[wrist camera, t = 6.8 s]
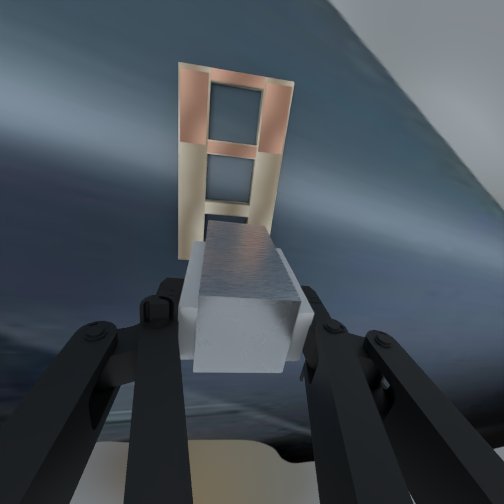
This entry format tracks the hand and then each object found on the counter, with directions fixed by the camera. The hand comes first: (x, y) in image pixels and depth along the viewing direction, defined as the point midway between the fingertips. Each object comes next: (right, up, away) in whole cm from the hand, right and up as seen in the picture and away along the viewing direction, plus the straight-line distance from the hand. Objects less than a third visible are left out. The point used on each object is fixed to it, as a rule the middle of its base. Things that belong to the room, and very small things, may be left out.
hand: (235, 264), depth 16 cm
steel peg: (0, +1, +2) cm, 2 cm away
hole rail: (-2, +10, +16) cm, 19 cm away
